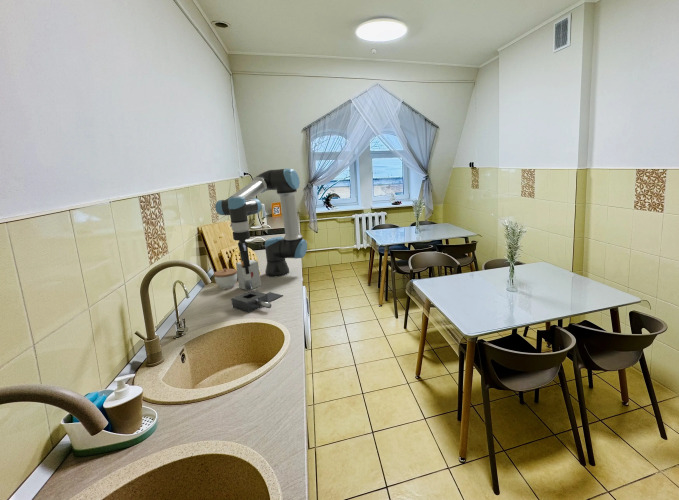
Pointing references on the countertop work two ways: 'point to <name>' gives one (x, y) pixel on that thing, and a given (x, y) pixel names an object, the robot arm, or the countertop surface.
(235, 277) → the lidded bowl
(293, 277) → the countertop surface
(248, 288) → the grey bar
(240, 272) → the supplement box
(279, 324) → the countertop surface
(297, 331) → the countertop surface
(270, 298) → the mat
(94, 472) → the countertop surface
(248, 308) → the block
